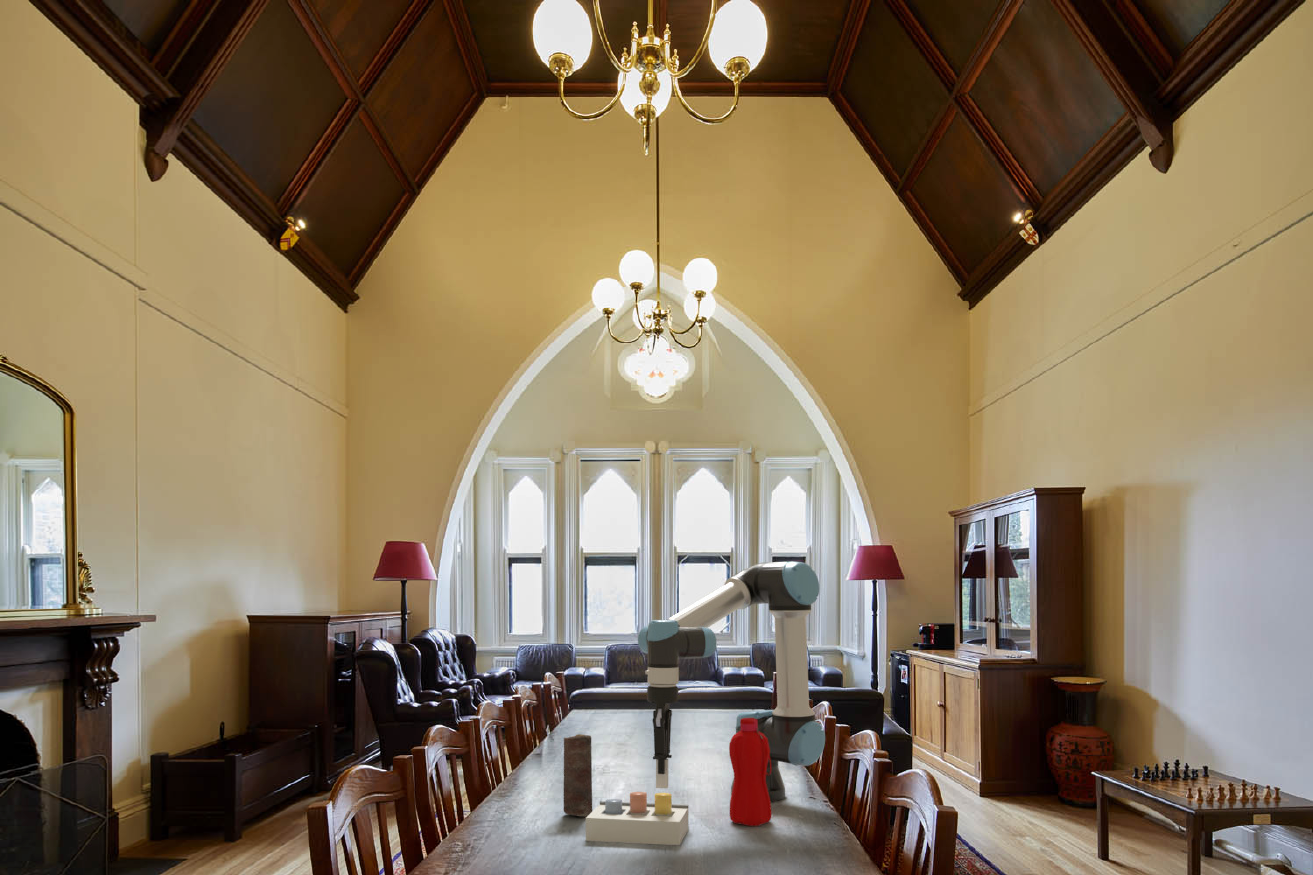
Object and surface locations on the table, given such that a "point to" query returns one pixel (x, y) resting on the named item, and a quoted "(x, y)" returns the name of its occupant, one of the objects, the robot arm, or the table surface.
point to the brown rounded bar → (578, 775)
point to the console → (638, 825)
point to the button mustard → (663, 803)
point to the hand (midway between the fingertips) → (662, 787)
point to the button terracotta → (638, 802)
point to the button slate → (613, 806)
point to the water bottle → (750, 775)
